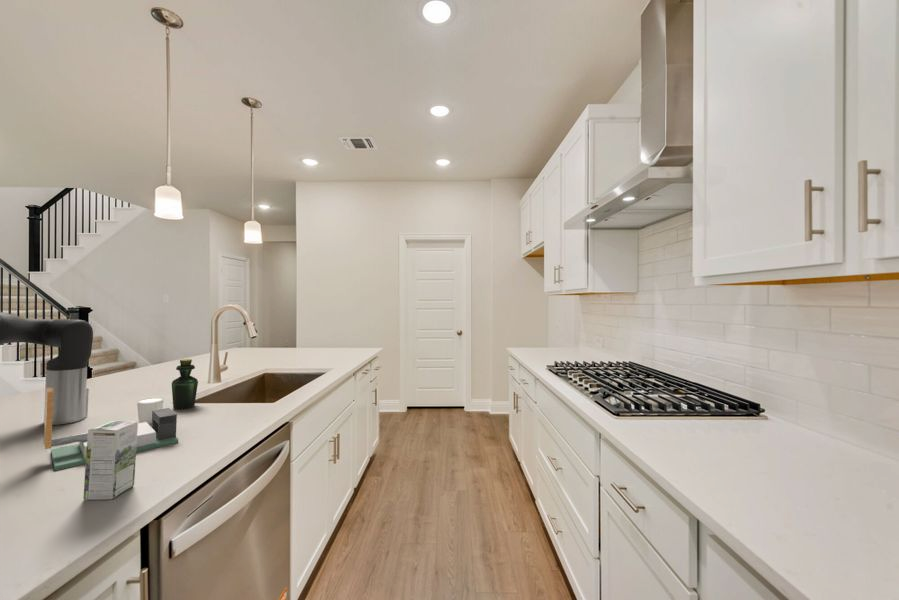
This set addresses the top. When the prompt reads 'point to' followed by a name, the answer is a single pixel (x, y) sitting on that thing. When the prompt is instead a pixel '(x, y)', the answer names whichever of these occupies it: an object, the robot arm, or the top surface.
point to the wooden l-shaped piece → (48, 425)
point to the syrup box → (110, 460)
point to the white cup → (148, 408)
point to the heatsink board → (77, 458)
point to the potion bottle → (184, 386)
